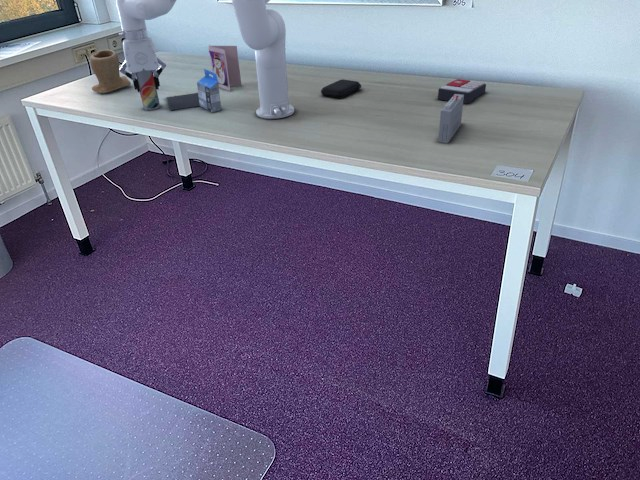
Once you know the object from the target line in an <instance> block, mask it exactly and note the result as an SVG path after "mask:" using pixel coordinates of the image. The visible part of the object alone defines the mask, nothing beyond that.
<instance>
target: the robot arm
mask: <svg viewBox="0 0 640 480" xmlns="http://www.w3.org/2000/svg"><path fill="white" fill-rule="evenodd" d="M270 1H271V0H231V3H232V8H233V10H234V14H235V18H236V21H237V25H238V29H239V32H240V36H241V38H242V40H243V42H244V43H245V44H246V45H247V47H249V48H250V49H252V50H254V56H255V57H254V58H255V69H256V70H255V71H256V78H257V88H258V96H259V97H258V98H259V105H260V106H259V107H258V108H257V109H256V111H255V112H256V116H257V117H258V118H260V119H261V118H262V119H265V120H266V119H268V120H276V119H283V118H287V117H290V116H292V115H293V114H294V113H295V107H294V106H293V105H292V104H290V97H289V84H288V83H289V82H288V71H287V57H286V55H287V54H286V35H287V34H286V32H287V31H286V30H287V29H286V23H285V20H284V18H283V16H282V15H281V13H279V12H278V11H276V10H274V9H269V8H268V9H267V4H268V3H269V2H270ZM176 2H177V0H115V4H116V8H117V12H118V13H117V14H118V16H119V22H120V26H121V30H122V31H121V32H118V37H119V38H123V40H122V49H123V55H124V62H123V63H122V65H121V67H119V73H121V74H122V75H123V76H125V77H126V78H129V80H131V81H132V83H133V87H134V90H136V92H137V93H140V90H139V86H138V82H137V78H136V72H141V71H143V68H144V69H145V71H151V70H152V72H153V75H154V80H155V85H156V89H157V91H158V90H159V87H161V83H160V79H159V77H160V75H161V74H162V73H163V71H164V70H165V69H166V67H167V64H166V62H164V61H163V60H161V58H159V57H158V56H157V53H156V48H155V45H154V43H153V40H152V38H151V37H149V34H148V28H147V24H146V21H150V20H155V19H157V18H159V17H162V16H165V15H167V14H168V13H169V12H170V11H172V9H173V7H174V5H175V4H176ZM159 65H160V66H159ZM126 69H127V70H126Z"/></svg>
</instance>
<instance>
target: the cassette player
mask: <svg viewBox="0 0 640 480" xmlns="http://www.w3.org/2000/svg"><path fill="white" fill-rule="evenodd" d="M463 100H464V95H461V94H454V95H453V97H452V98H451V99H450V100H449V101H447V102H446V103H445V105H444V106H443V107H442V109H441V110H440V116H439V130H438V138H437V139H438V143H444V144H449V143H450V141H451V139H452V138H453V137H454V135H455V134H456V132H457V131H458V130H459V128H460V126H461V125H462V120H463V119H462V117H463V110H464V109H463V108H464V103H463Z"/></svg>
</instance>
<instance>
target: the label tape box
mask: <svg viewBox="0 0 640 480" xmlns="http://www.w3.org/2000/svg"><path fill="white" fill-rule="evenodd" d="M203 70H204V76H203V77H202V78H200V79H199V80H197V82H196V89H197V93H198V96H199V104H200V106H201V107H200V108H203V109H205V110H207V111H208V112H211V113H215V112H216V113H217V112H219V111H222V105H221V104H222V103H221V95H220V87H219V85H218V79H217V75H216V74H215V73H213V72H212V70H209V69H206V68H203Z"/></svg>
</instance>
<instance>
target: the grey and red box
mask: <svg viewBox="0 0 640 480" xmlns="http://www.w3.org/2000/svg"><path fill="white" fill-rule="evenodd" d="M486 88H487V83H485V82H483V81H476V80H469V79H461V78H456V79H454V80H452V81H450V82H448V83H446V84H445V85H443V86H440V87H439V88H438V93H437V100H441V101H446V102H448V101H449V100H450V99H451V98H452V97H453V95H454V94H461V95H464V100H463V104H465V105H466V104H467V105H468V104H471V103H472V102H473V101H474V100H475V99H476V98H478V97H480V96H482V95H483V94H485V93H486Z"/></svg>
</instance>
